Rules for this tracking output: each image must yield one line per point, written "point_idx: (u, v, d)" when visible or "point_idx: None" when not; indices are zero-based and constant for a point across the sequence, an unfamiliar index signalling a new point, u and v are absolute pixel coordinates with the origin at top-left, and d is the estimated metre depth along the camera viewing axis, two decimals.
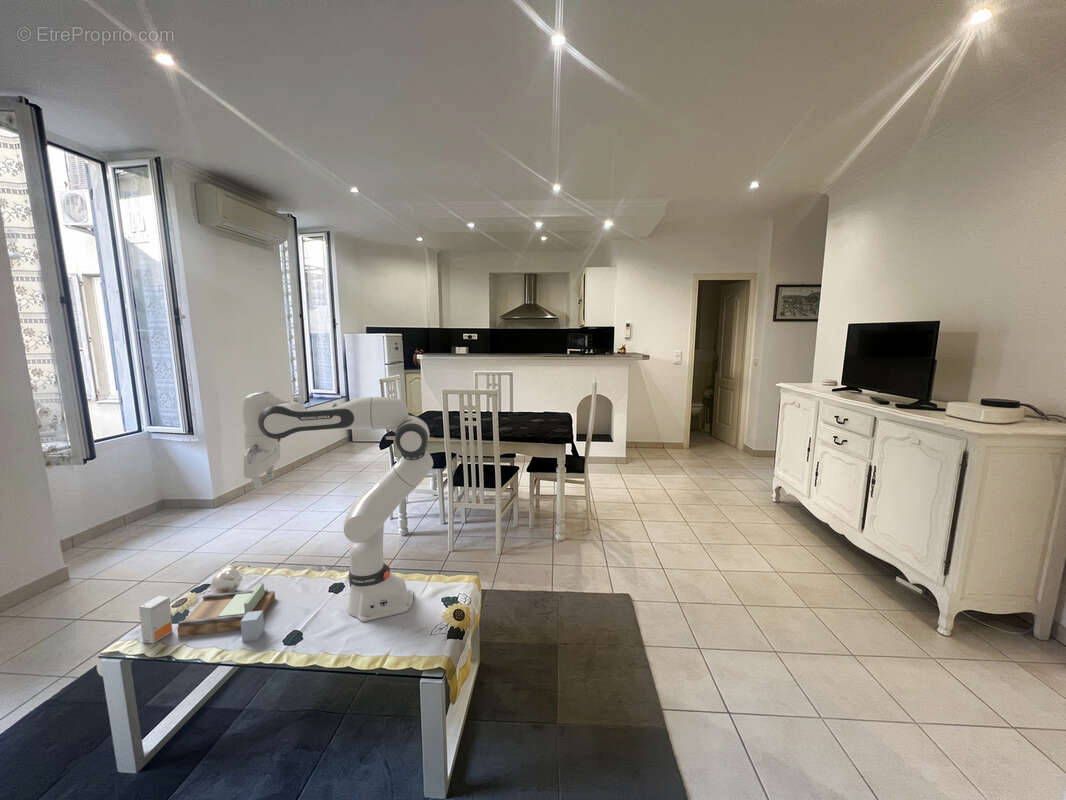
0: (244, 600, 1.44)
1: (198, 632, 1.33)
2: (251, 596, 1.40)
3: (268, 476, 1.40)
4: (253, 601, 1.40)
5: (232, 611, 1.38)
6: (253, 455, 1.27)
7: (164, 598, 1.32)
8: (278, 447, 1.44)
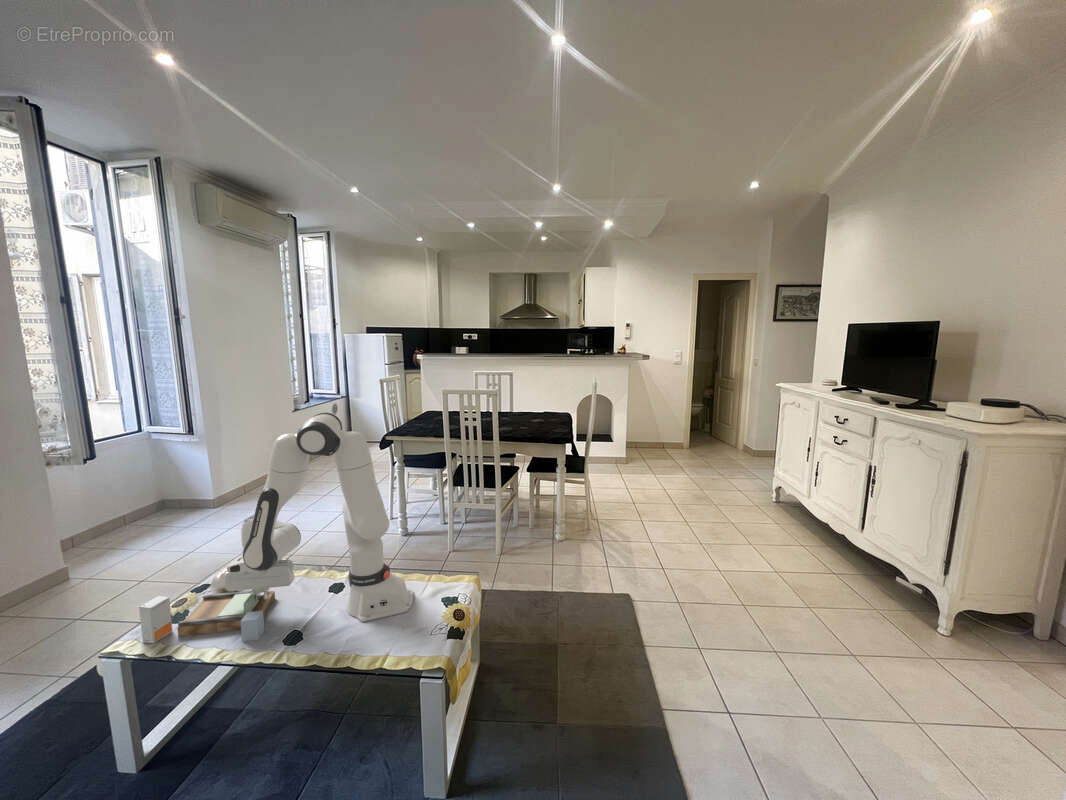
0: (243, 600, 1.44)
1: (198, 632, 1.33)
2: (250, 596, 1.40)
3: None
4: (252, 601, 1.40)
5: (232, 611, 1.38)
6: None
7: (164, 598, 1.32)
8: None
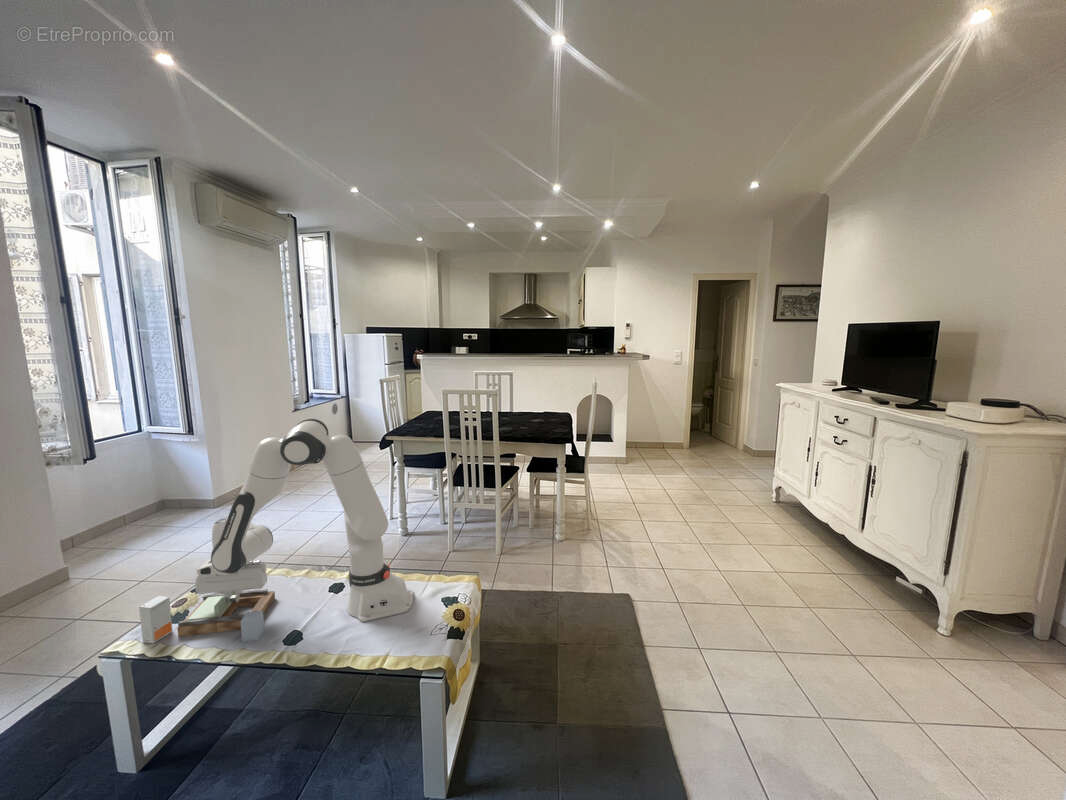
0: (216, 603, 1.42)
1: (198, 632, 1.33)
2: (222, 599, 1.38)
3: None
4: (224, 604, 1.39)
5: (203, 614, 1.36)
6: None
7: (164, 598, 1.32)
8: None
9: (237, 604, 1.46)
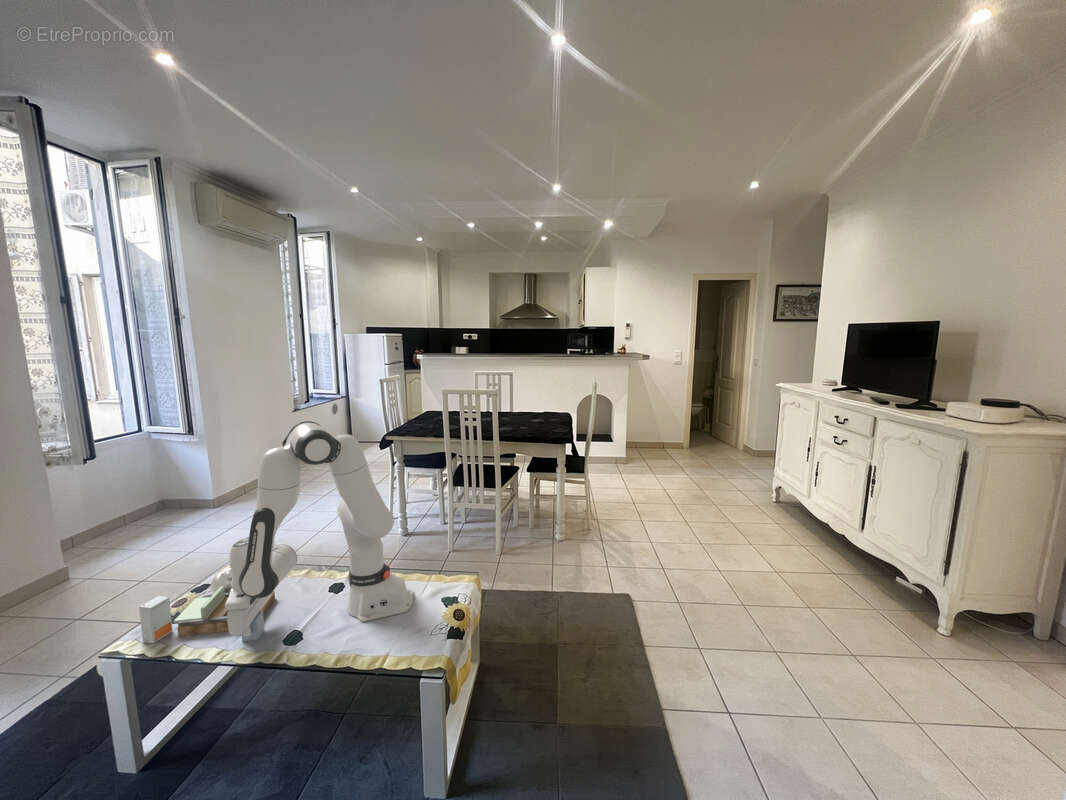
0: (203, 604, 1.41)
1: (198, 632, 1.33)
2: (209, 600, 1.38)
3: None
4: (211, 605, 1.38)
5: (189, 615, 1.35)
6: None
7: (164, 598, 1.32)
8: None
9: None
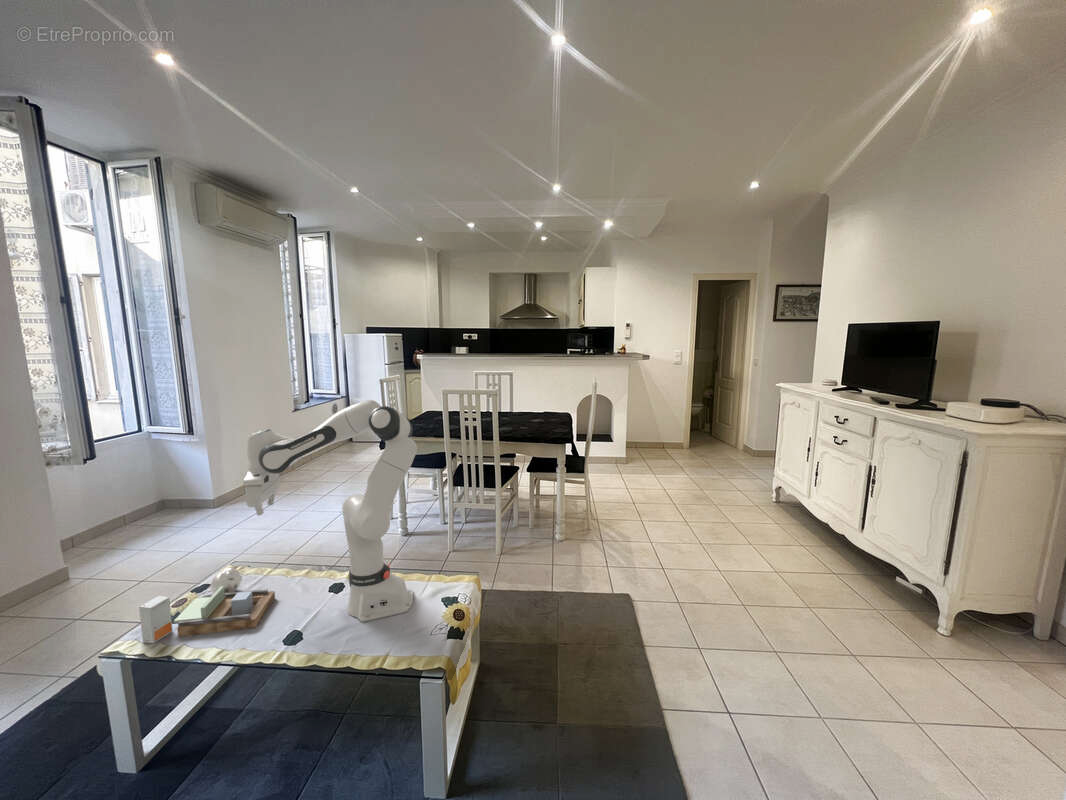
0: (203, 604, 1.41)
1: (198, 632, 1.33)
2: (209, 600, 1.38)
3: None
4: (211, 605, 1.38)
5: (189, 615, 1.35)
6: None
7: (164, 598, 1.32)
8: None
9: None
